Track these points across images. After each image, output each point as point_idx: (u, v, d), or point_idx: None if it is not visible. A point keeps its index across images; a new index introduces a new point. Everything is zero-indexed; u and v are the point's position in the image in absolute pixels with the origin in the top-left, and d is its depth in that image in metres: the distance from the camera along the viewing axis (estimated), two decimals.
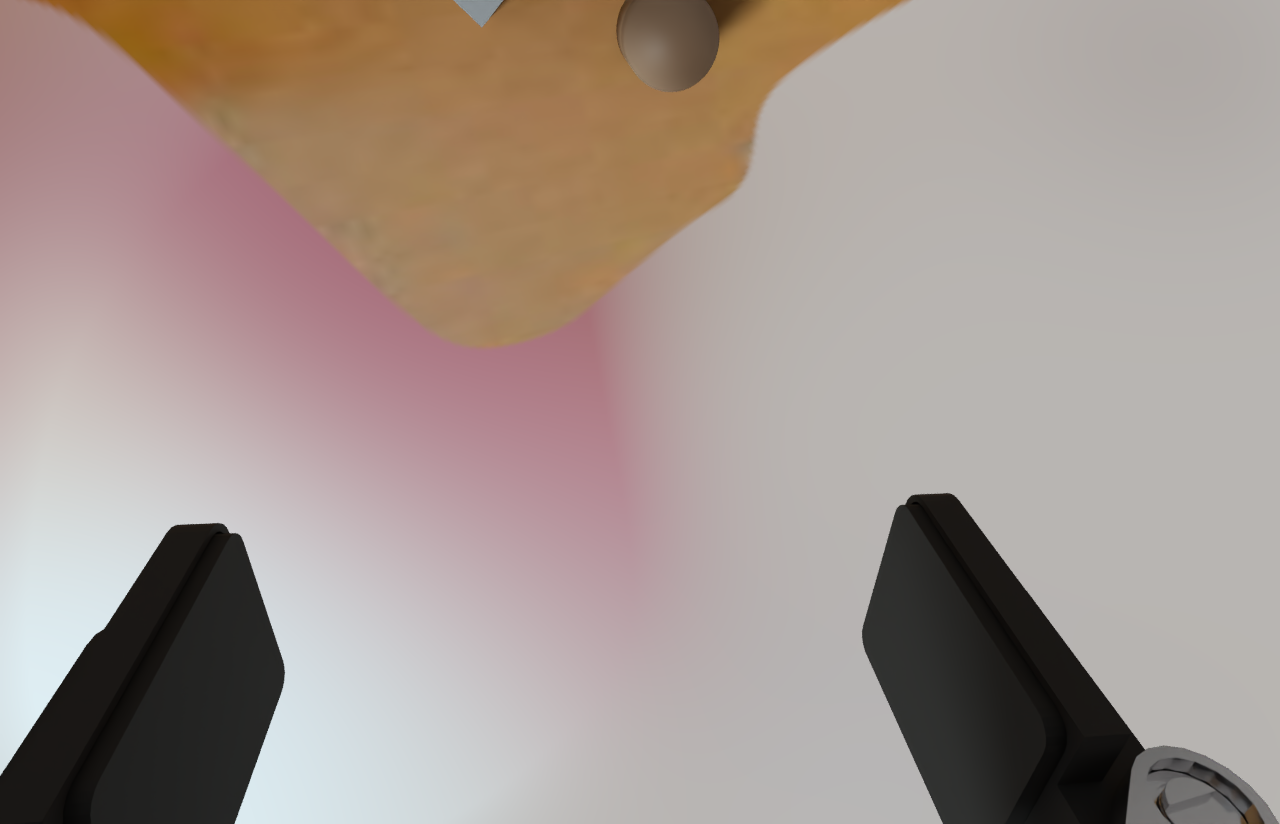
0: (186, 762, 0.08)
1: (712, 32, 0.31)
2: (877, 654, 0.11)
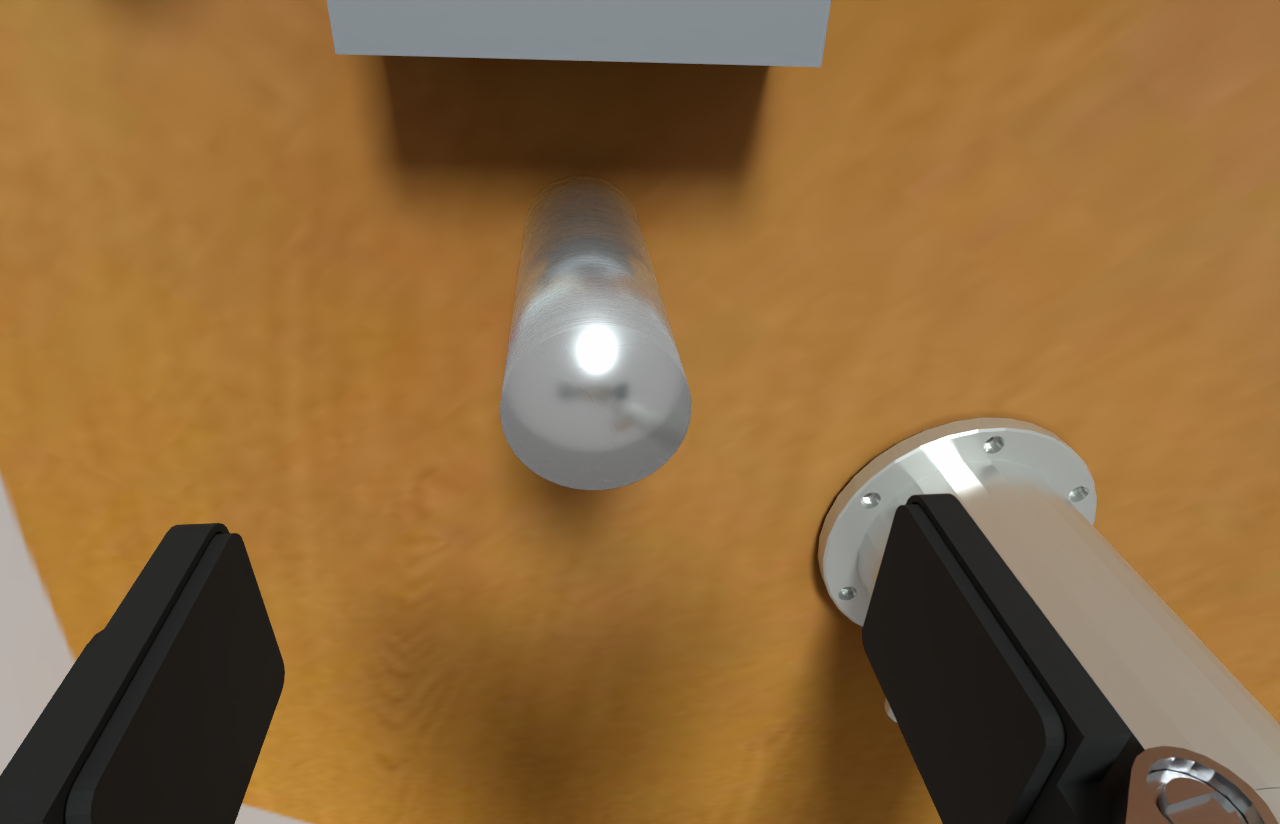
0: (186, 762, 0.08)
1: None
2: (877, 654, 0.11)
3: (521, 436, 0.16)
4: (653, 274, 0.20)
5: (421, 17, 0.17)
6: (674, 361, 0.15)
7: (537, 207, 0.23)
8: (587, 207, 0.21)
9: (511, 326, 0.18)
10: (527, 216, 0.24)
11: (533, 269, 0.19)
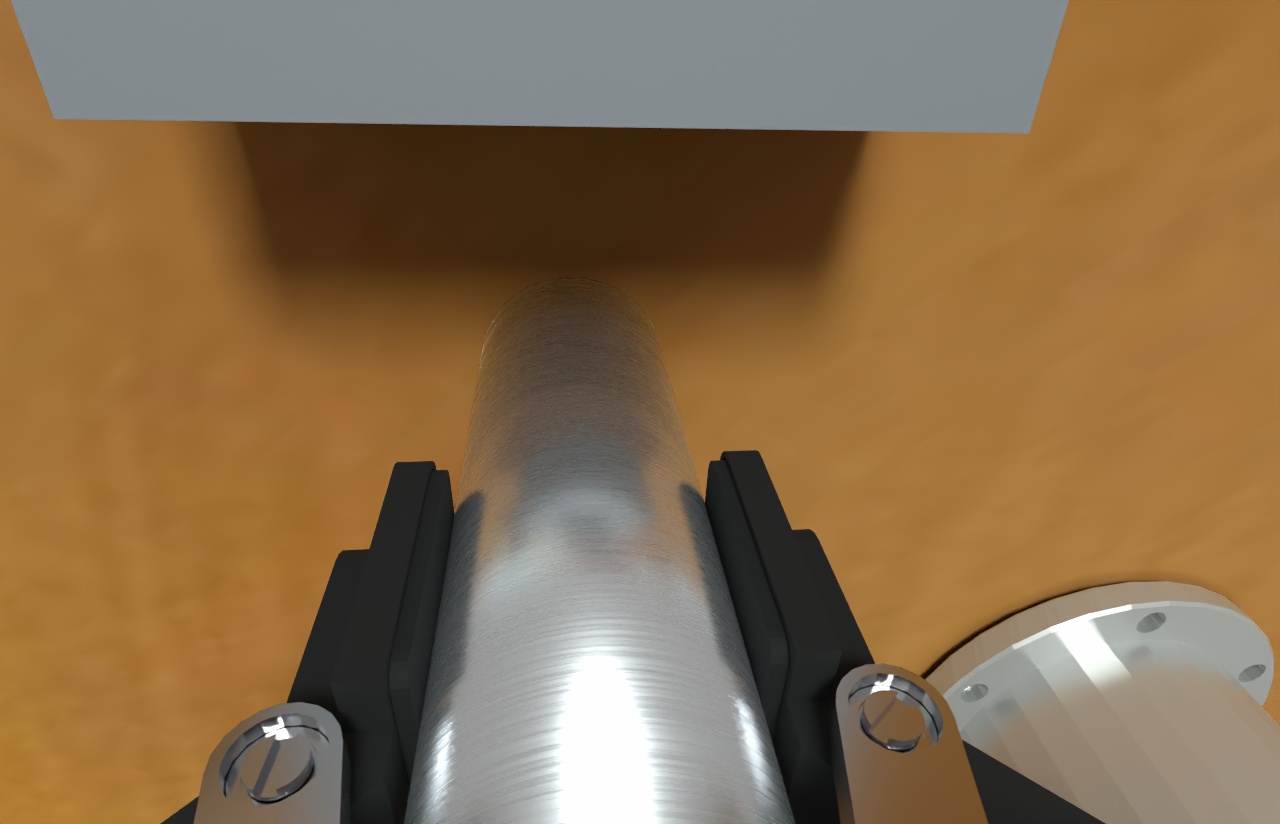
0: None
1: None
2: None
3: None
4: (703, 509, 0.11)
5: (228, 43, 0.08)
6: None
7: (497, 340, 0.14)
8: (580, 361, 0.12)
9: (428, 677, 0.09)
10: (483, 344, 0.15)
11: (477, 532, 0.10)
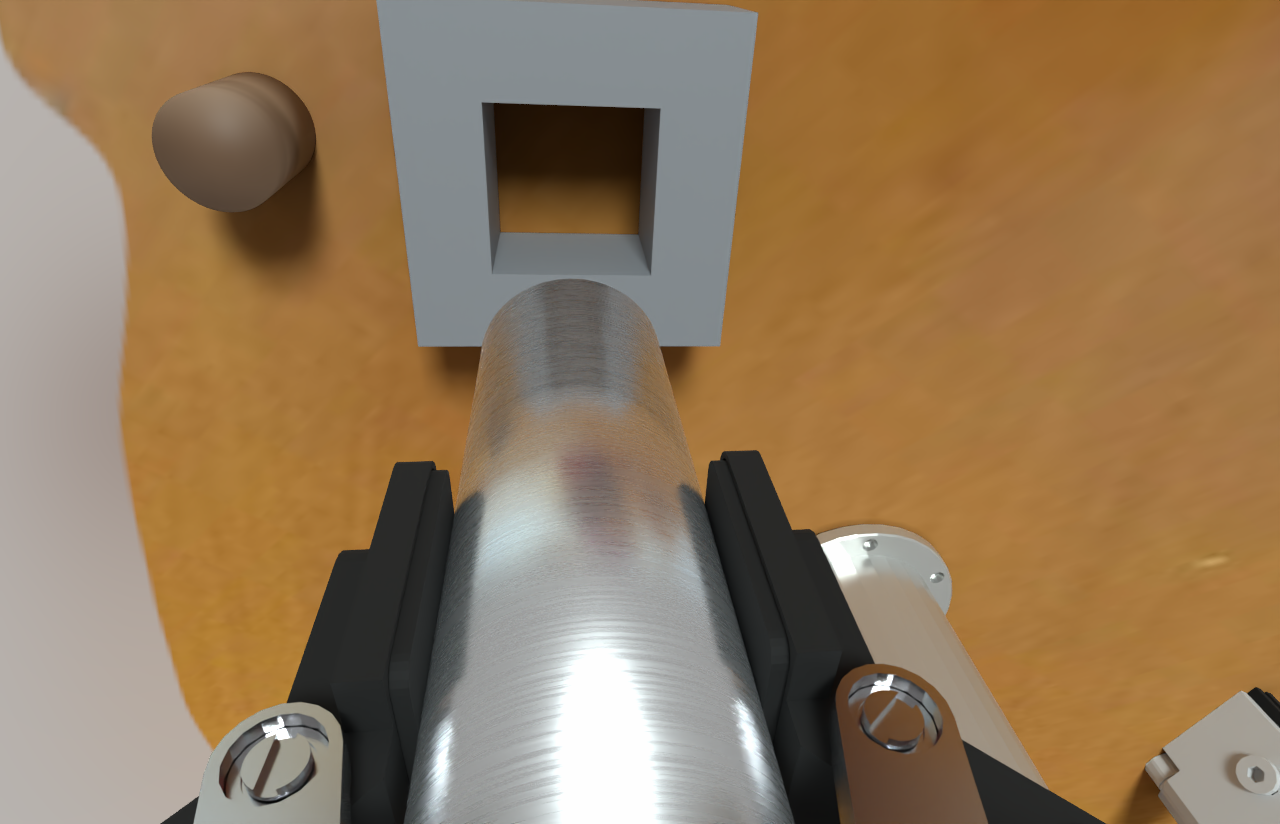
0: None
1: (196, 194, 0.26)
2: None
3: None
4: (703, 510, 0.11)
5: (472, 326, 0.29)
6: None
7: (497, 341, 0.14)
8: (580, 362, 0.12)
9: (427, 679, 0.09)
10: (483, 345, 0.15)
11: (476, 534, 0.10)
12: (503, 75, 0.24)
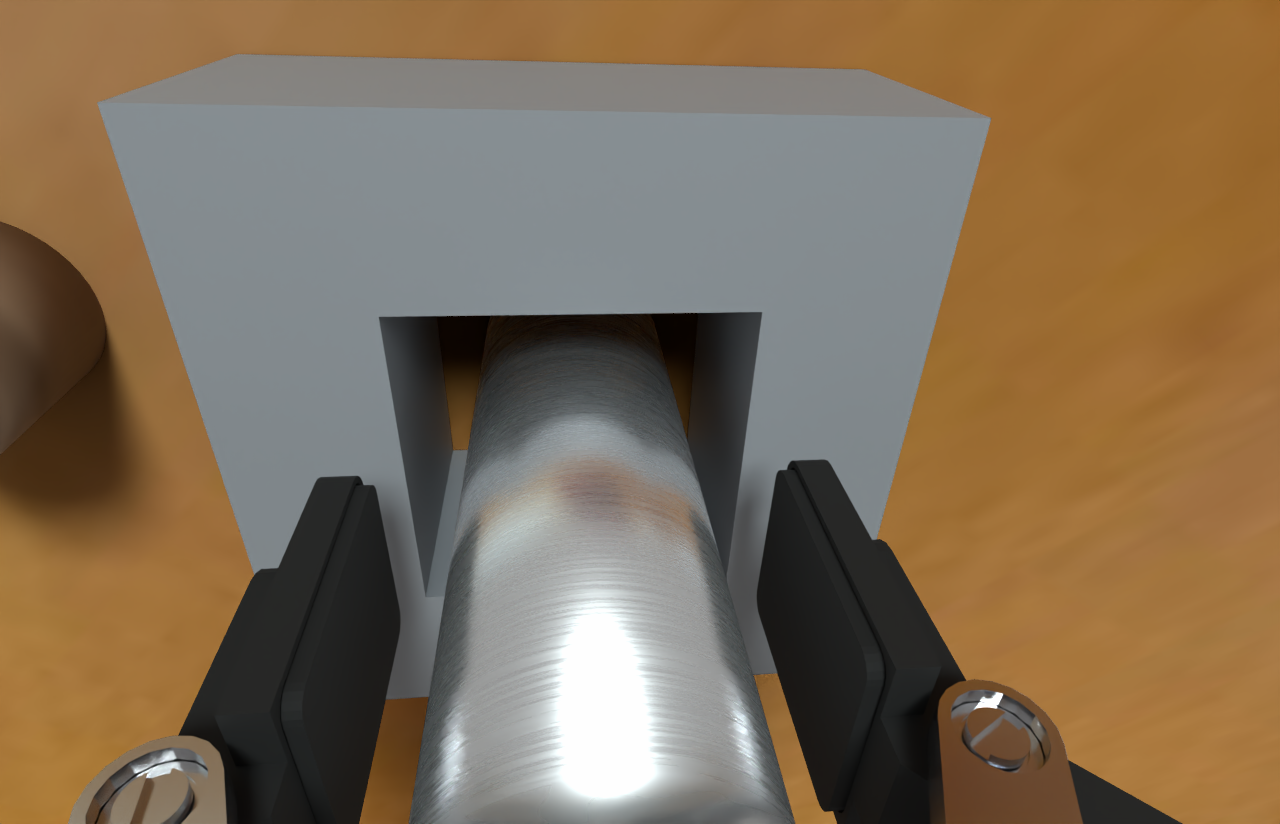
0: (349, 683, 0.09)
1: None
2: (765, 615, 0.12)
3: None
4: (693, 473, 0.12)
5: (394, 673, 0.15)
6: (775, 809, 0.07)
7: (502, 321, 0.15)
8: (580, 339, 0.13)
9: (441, 618, 0.10)
10: (488, 327, 0.16)
11: (485, 490, 0.10)
12: (421, 264, 0.11)
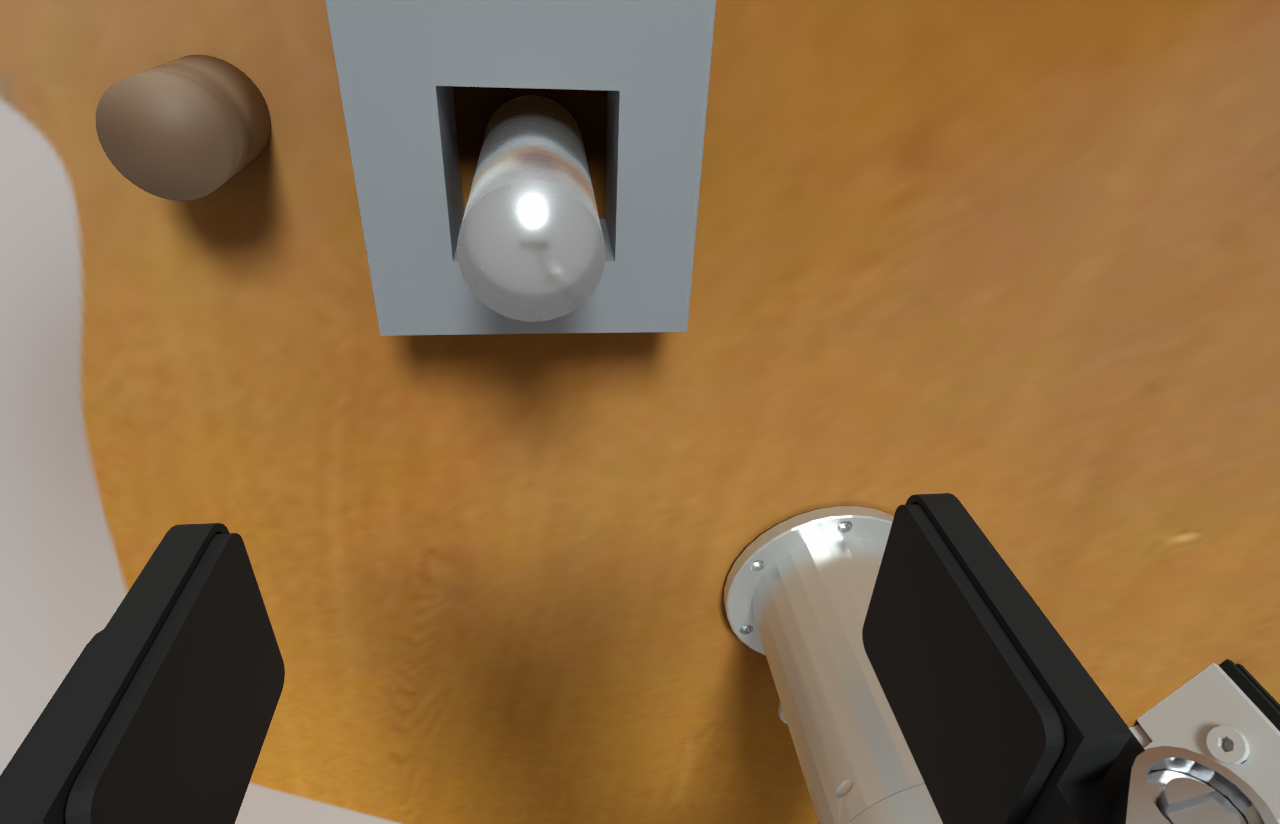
0: (186, 762, 0.08)
1: (145, 183, 0.25)
2: (877, 654, 0.11)
3: (474, 273, 0.20)
4: (585, 166, 0.24)
5: (434, 315, 0.28)
6: (590, 211, 0.20)
7: (493, 120, 0.28)
8: (533, 115, 0.26)
9: None
10: (486, 130, 0.29)
11: (486, 157, 0.23)
12: (456, 58, 0.23)
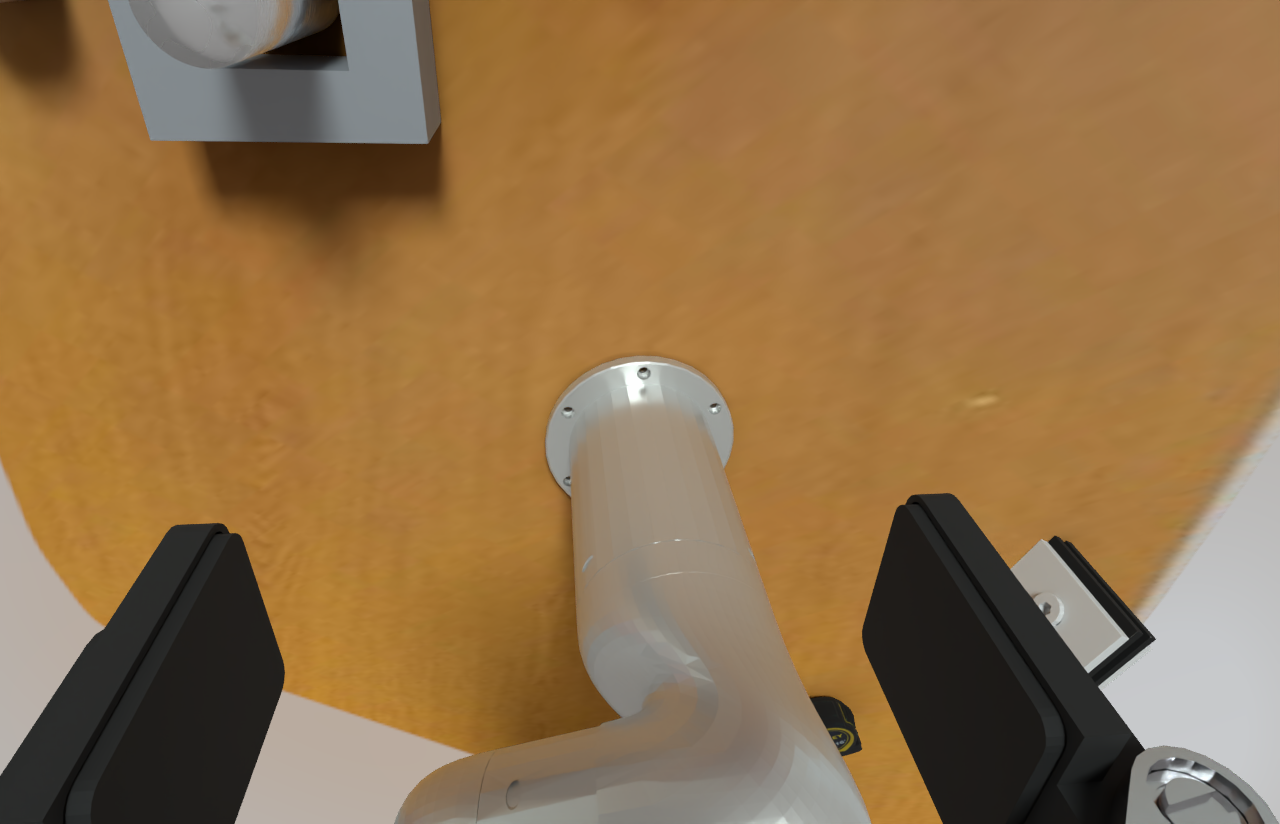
0: (186, 762, 0.08)
1: None
2: (877, 654, 0.11)
3: (146, 18, 0.24)
4: None
5: (195, 121, 0.32)
6: None
7: None
8: None
9: None
10: None
11: None
12: None
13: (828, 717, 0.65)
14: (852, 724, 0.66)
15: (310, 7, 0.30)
